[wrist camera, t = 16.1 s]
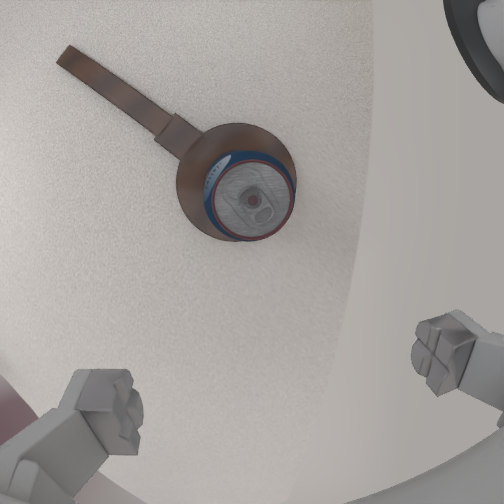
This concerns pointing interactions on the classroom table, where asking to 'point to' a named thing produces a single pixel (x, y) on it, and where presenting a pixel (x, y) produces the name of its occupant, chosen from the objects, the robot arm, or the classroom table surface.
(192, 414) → the classroom table surface
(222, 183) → the soda can
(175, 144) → the serving spoon
